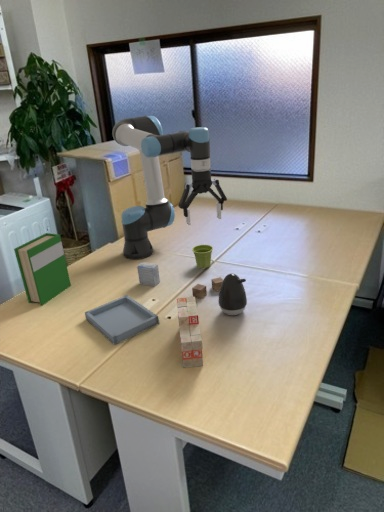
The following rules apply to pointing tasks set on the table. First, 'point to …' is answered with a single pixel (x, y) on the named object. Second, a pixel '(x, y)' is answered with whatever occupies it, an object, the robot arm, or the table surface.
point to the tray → (121, 319)
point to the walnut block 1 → (199, 291)
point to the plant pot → (203, 255)
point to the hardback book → (43, 268)
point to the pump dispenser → (232, 295)
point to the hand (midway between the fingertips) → (204, 221)
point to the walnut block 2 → (217, 283)
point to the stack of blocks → (189, 332)
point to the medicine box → (148, 274)
